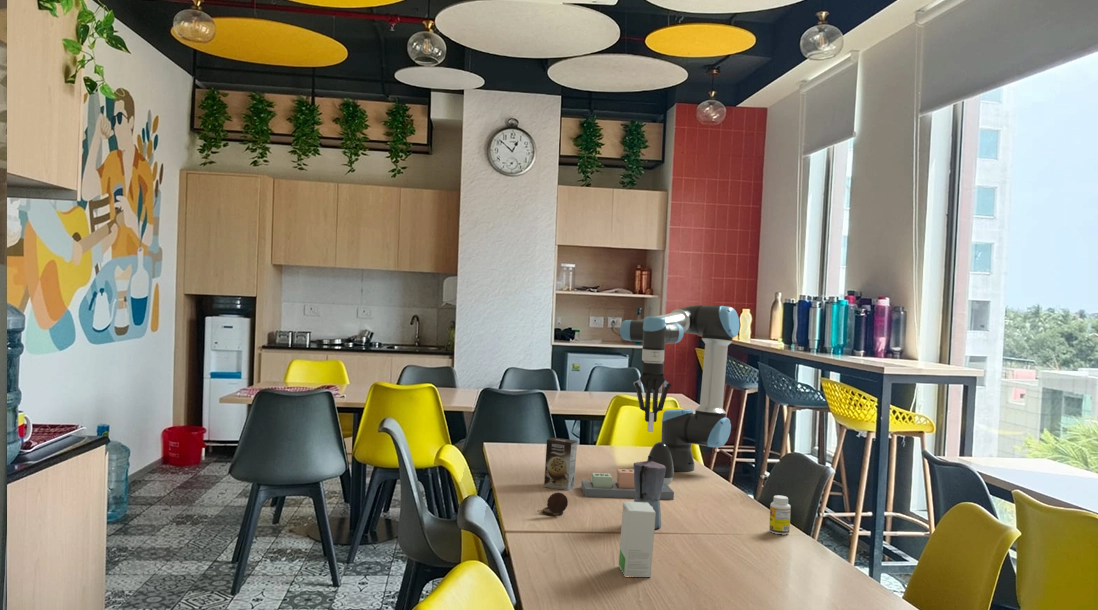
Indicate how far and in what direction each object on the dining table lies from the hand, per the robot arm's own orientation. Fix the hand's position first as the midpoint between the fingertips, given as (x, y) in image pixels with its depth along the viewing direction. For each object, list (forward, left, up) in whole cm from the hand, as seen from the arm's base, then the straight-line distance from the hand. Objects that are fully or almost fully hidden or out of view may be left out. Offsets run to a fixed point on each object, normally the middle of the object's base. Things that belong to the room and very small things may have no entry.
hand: (650, 431), depth 273 cm
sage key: (+16, +5, -20) cm, 26 cm away
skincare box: (+19, +85, -21) cm, 89 cm away
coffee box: (+30, -1, -21) cm, 36 cm away
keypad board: (+8, +5, -20) cm, 22 cm away
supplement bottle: (-29, +47, -21) cm, 59 cm away
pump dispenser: (-6, -10, -21) cm, 24 cm away
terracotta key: (+8, +5, -18) cm, 20 cm away
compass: (+35, +34, -21) cm, 54 cm away
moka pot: (+9, +45, -21) cm, 50 cm away
